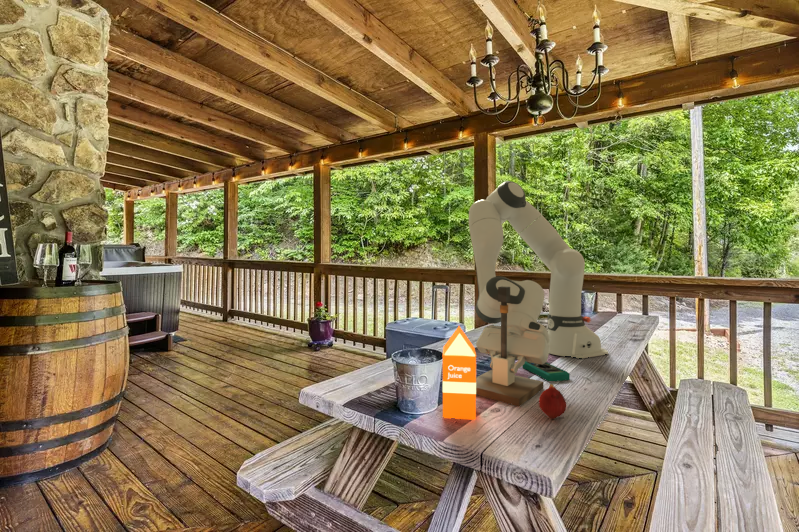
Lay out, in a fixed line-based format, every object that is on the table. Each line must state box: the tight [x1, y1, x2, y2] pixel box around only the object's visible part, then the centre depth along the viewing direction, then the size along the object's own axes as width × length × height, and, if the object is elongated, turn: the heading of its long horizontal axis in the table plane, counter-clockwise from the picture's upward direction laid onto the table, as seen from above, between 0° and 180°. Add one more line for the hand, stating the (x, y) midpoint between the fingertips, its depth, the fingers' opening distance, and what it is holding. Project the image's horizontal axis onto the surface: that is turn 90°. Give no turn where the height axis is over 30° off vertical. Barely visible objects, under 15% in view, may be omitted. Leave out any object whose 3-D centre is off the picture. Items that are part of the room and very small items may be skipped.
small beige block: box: [492, 354, 516, 386], centre depth 104 cm, size 4×4×7 cm
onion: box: [538, 383, 567, 420], centre depth 86 cm, size 6×6×8 cm
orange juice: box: [442, 325, 477, 421], centre depth 90 cm, size 8×9×20 cm
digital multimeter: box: [522, 361, 570, 382], centre depth 118 cm, size 7×15×3 cm, turn 14°
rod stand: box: [476, 286, 544, 408], centre depth 104 cm, size 16×16×28 cm
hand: (502, 369), depth 103 cm, fingers closed on small beige block, 4 cm apart
